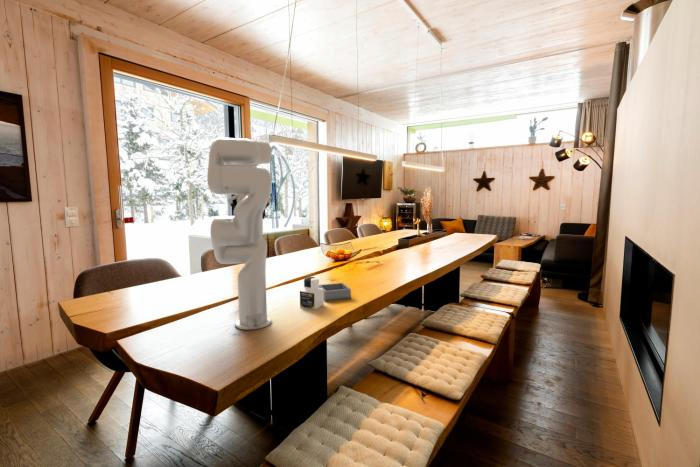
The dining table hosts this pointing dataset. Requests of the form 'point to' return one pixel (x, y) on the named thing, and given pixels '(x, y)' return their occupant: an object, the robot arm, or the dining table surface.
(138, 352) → the dining table surface
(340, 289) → the grey square tray
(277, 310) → the dining table surface
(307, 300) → the medicine bottle
